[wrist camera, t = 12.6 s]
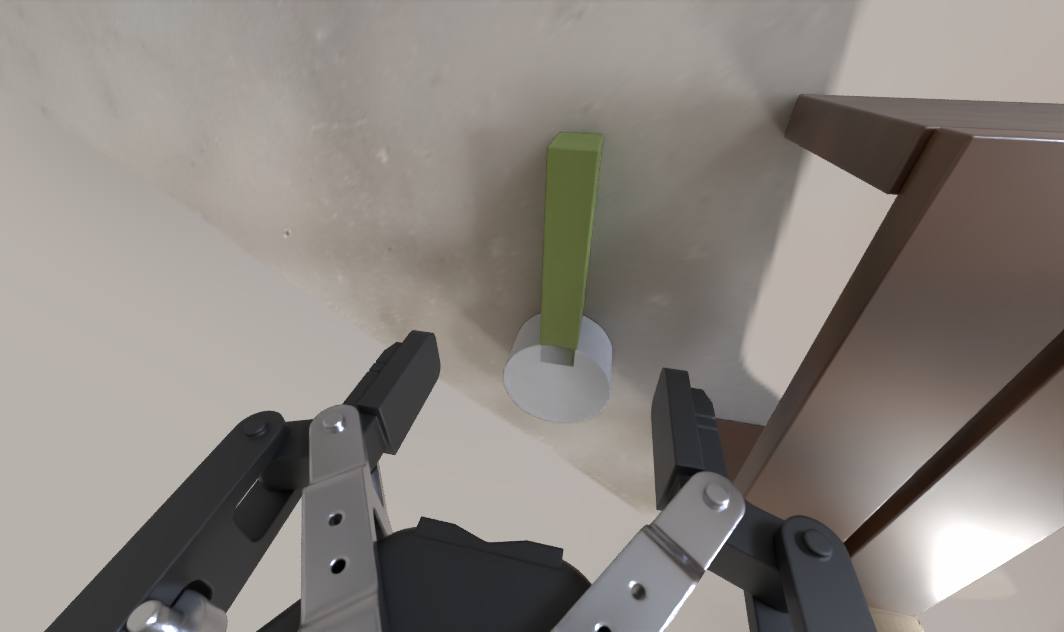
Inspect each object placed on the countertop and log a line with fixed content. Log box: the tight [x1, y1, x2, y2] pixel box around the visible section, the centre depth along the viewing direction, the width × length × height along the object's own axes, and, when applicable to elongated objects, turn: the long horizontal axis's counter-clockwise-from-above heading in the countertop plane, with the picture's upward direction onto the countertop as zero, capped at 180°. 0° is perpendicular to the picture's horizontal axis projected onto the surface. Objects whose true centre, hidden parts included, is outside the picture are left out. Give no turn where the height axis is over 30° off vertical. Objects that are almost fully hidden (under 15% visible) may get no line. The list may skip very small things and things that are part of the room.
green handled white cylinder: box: [503, 132, 612, 423], centre depth 18 cm, size 14×6×3 cm, turn 179°
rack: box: [707, 94, 1064, 617], centre depth 15 cm, size 18×9×8 cm, turn 179°
